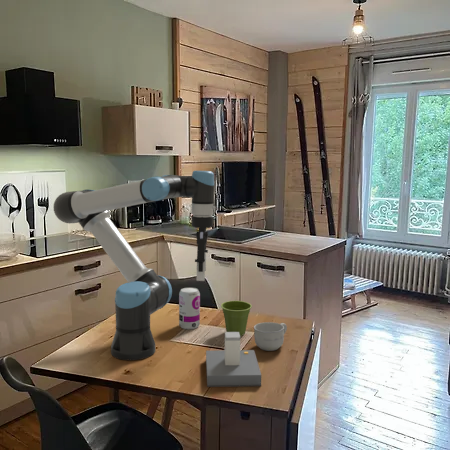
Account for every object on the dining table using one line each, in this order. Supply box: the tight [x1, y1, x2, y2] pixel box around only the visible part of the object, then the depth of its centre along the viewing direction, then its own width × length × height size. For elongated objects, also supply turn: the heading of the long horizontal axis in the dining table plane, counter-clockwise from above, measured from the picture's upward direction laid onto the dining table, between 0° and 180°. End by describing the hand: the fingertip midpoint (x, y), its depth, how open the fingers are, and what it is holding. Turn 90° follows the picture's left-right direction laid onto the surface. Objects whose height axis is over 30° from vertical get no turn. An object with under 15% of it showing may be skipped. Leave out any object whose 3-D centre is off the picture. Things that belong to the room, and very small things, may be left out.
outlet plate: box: [205, 349, 262, 388], centre depth 146 cm, size 16×18×4 cm
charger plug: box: [224, 331, 241, 365], centre depth 145 cm, size 4×4×12 cm
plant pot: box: [220, 300, 253, 337], centre depth 178 cm, size 12×12×11 cm
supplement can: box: [178, 287, 201, 330], centre depth 185 cm, size 8×8×15 cm
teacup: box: [253, 321, 288, 352], centre depth 166 cm, size 14×11×8 cm
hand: (201, 275), depth 163 cm, fingers open, 13 cm apart
